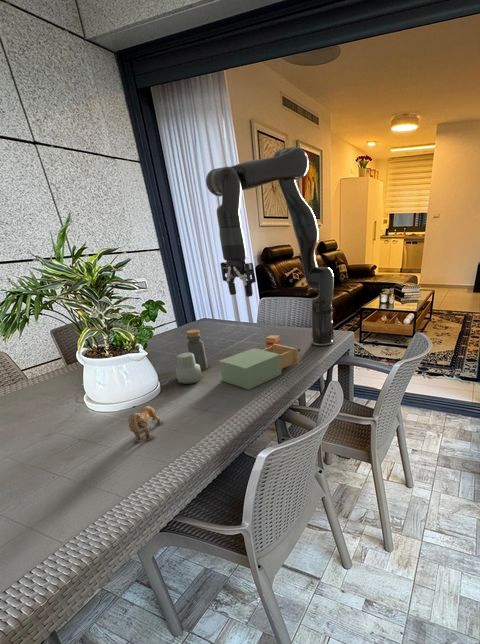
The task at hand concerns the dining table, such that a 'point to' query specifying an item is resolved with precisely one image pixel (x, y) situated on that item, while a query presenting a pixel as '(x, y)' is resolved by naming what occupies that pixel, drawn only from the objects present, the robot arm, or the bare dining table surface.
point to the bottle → (197, 348)
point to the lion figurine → (142, 422)
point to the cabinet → (250, 368)
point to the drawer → (285, 354)
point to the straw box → (272, 340)
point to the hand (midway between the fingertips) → (241, 295)
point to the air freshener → (187, 369)
